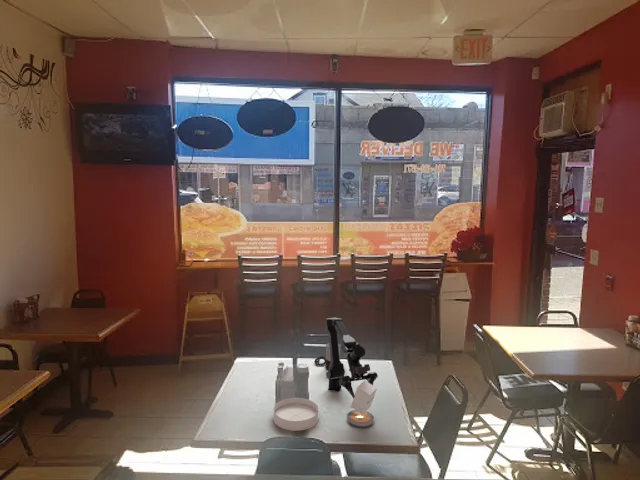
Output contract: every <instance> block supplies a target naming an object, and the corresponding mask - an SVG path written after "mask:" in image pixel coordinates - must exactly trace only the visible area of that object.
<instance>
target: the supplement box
mask: <svg viewBox="0 0 640 480" xmlns="http://www.w3.org/2000/svg"><path fill="white" fill-rule="evenodd" d="M355 390H356V391H355V393H354V396H355V397H354V398H353V397H352V398H353V399H352V401H351V405H350V407H351V408H352V409H354V410H356V411H358V412H359V413H361V414H362V415H363V414H364V413H365V412H366V411H367V412H368V410H369V409H370V408H371V406H372V403H373V401H374V398H375V395H376V392H377V390H378V388H377V387H376V386H374V384H373V385H372V384H370V383H368V381H367V380H366V379H365V380H362V382H361V383H360V384H359V385H358V386H357V387H356V389H355Z"/></svg>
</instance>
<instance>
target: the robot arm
mask: <svg viewBox="0 0 640 480" xmlns="http://www.w3.org/2000/svg"><path fill="white" fill-rule="evenodd" d="M324 319H325V320H323V327H324V330H325V331H326V333H327V334H328V343H329V345H330V355H331V362H330V365H329V370H327V371H326V372H325V376H326V379H327V380H328V387H327V390H328V391H330V392H331V391H332V392H340V390H341V389H342V388H344V389H345V390H346V391H347V392H348V393H349V394H350V395H351V397H352V398H354V397H355V396H354V395H355V393H354V389H353V386H352V382H357V381H364V380H365V381H367V382H368V383H370V384H372V385H373V386H374V383H375V381H376V380H377V378H378V377H379V376H378V373H377V372H376V371H373V372H371V366H370V364H369V363H367V364H364V366H363V364H362V363H361V360H362V359H363V358H364V357H365V355H366V349H365V348H364V347H363V346H361V345H360V343H358V342H357V341H356V339H355V338H354V337H352V336H351V335H350V334H349V331H347V328H346V326H345V324H344V322H343V319H342V318H341V317H339V318H338V317H328V318H327V317H326V318H324ZM338 337H339V339H340V341H341V343H340V345H341V347H340V349H341V351H342V352H343V353H347V354H346V357H345V360H347V364H348V368H349V369H348V371H349V372H350V375H351V376H350V375H345V373H346V370H345V366H344V363H342V362H341V357H340V358H339V349H338V344H339V340H338Z"/></svg>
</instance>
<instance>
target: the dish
mask: <svg viewBox="0 0 640 480" xmlns="http://www.w3.org/2000/svg"><path fill="white" fill-rule="evenodd" d="M272 415H273V416H272V418H273V422H274V425H276V426H277V427H279V428H281V429H283V430H286V431H293V432H294V431H297V432H298V431H305V430H308V429H311V428H313V427H314V426H315V425H316V424H317V423H318V422H319V417H320V416H319V415H320V414H319V407H318V405H317V404H316V402H314V401H312V400H310V399H307V398H303V397H288V398H284V399H281V400H280V401H278V402H277V403H275V405H274V407H273V413H272Z"/></svg>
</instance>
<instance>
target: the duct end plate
mask: <svg viewBox="0 0 640 480" xmlns="http://www.w3.org/2000/svg"><path fill="white" fill-rule="evenodd" d="M346 422H347V423H348V425H350V426H352V427H355V428H359V429H366V428H369V427H371V426H373V425H374V424H375V423H374V422H375V417H374V415H373V414H372V413H371V412H370V411H368V410H367V411H366V412H365V413H364V414H363V415H362V414H361V413H359V412H358V411H356V410H355V409H354V410H351V411H348V413H347V414H346Z"/></svg>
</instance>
